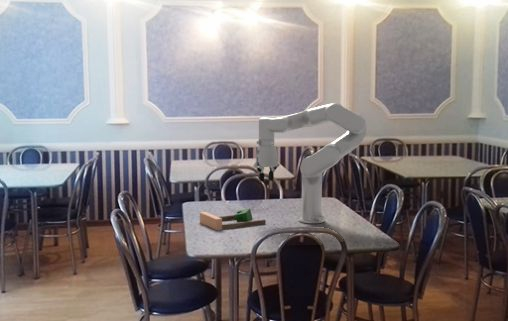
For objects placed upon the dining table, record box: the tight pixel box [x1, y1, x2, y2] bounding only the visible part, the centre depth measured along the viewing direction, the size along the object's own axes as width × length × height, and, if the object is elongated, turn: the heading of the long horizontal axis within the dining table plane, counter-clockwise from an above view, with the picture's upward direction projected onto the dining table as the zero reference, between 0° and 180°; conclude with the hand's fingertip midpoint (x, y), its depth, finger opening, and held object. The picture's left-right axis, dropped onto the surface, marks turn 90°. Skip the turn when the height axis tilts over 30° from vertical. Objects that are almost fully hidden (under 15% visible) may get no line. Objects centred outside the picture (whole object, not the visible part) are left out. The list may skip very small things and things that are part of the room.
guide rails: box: [218, 214, 267, 230], centre depth 290 cm, size 18×22×2 cm
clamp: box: [233, 207, 253, 223], centre depth 292 cm, size 12×6×9 cm, turn 165°
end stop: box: [199, 211, 223, 231], centre depth 284 cm, size 18×3×5 cm, turn 29°
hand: (266, 180), depth 296 cm, fingers open, 4 cm apart
